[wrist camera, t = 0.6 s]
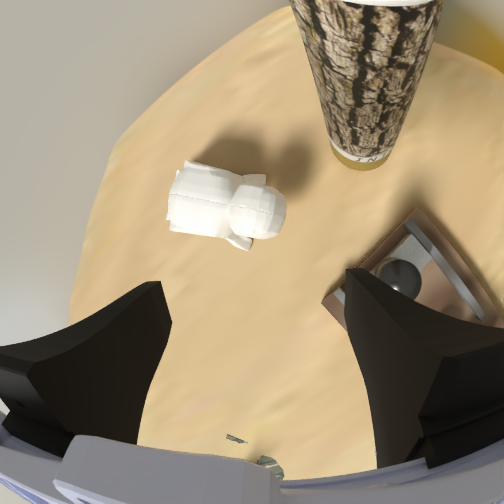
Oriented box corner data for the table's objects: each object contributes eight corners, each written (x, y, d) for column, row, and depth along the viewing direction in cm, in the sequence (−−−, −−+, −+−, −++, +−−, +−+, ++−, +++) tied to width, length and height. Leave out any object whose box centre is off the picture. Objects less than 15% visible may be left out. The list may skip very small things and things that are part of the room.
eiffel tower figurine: (265, 510, 35) (237, 566, 22) (208, 488, 38) (169, 538, 25) (295, 456, 33) (268, 525, 20) (226, 431, 36) (179, 489, 23)
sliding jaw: (426, 258, 26) (449, 263, 19) (370, 314, 28) (376, 335, 21) (404, 232, 27) (421, 229, 20) (347, 288, 29) (347, 303, 22)
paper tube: (317, 144, 31) (235, -39, 7) (356, 103, 29) (336, -93, 5) (364, 185, 29) (397, 26, 6) (403, 142, 28) (473, -37, 4)
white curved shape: (200, 235, 39) (297, 266, 29) (144, 227, 32) (240, 263, 23) (215, 171, 38) (317, 181, 29) (161, 153, 31) (265, 153, 22)
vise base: (503, 325, 24) (523, 337, 19) (417, 406, 28) (424, 429, 23) (415, 208, 28) (427, 201, 23) (322, 300, 31) (317, 310, 26)
